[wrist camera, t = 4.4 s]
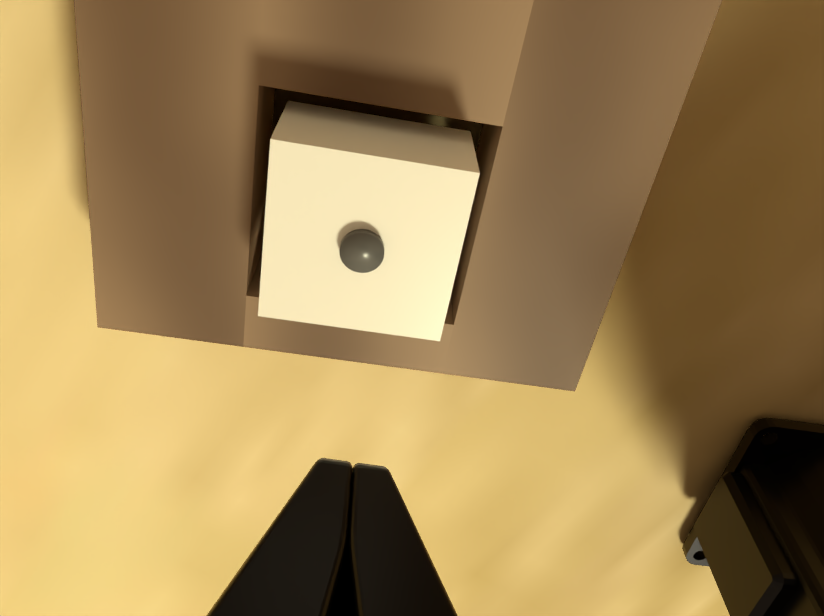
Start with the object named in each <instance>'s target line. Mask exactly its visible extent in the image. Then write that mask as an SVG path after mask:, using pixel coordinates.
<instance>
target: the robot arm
mask: <svg viewBox="0 0 824 616" xmlns="http://www.w3.org/2000/svg"><path fill="white" fill-rule="evenodd" d="M767 433H769V434H768V435H766V436H764V435H765V434H767ZM682 549H683V551H684V554H685V556H686V559H687V561H688V562H689V563H691V564H694V565H702V566H709V567H710V569H711V571H712V574H713V576H714V578H715V581H716V583H717V586H718V588H719V590H720V593H721V595H722V598H723V600H724V602H725V605H726V607H727V609H728V612H729V614H730V616H824V425H819V424H811V423H804V422H796V421H789V420H782V419H774V418H763V419H760V420H757V421H756V422H754V423H753V424H752V425H751V426H750V427H749V429H748V430H747V432H746V434H745V436H744V437H743V439H742V441H741V443H740V445H739V446H738V448H737V450H736V452H735V453H734V455H733V457H732V459H731V461H730V462H729V464H728V466H727V468H726V469H725V471H724V473H723V475H722V477H721V478H720V480H719V481H718V483H717V485H716V487H715V489H714V490H713V492H712V494H711V496H710V497H709V499H708V501H707V503H706V505H705V506H704V508H703V510H702V512H701V513H700V515H699V517H698V519H697V521H696V522H695V524H694V526H693V528H692V530H691V532H690V534H689V535H688V537H687V539H686V541H685V542H684V544H683V548H682ZM207 616H457V614H456V611H455V609H454V607H453V605H452V603H451V601H450V599H449V597H448V594H447V592H446V590H445V588H444V586H443V584H442V582H441V580H440V577H439V575H438V573H437V571H436V569H435V567H434V565H433V563H432V560H431V558H430V556H429V554H428V552H427V550H426V548H425V546H424V543H423V541H422V539H421V537H420V535H419V533H418V531H417V529H416V526H415V524H414V522H413V520H412V518H411V516H410V514H409V512H408V509H407V507H406V505H405V503H404V501H403V499H402V497H401V495H400V492H399V490H398V488H397V486H396V484H395V482H394V480H393V478H392V475H391V473H390V472H389V470H388V469H387V468H386V467H383V466H377V465H370V464H363V463H357V464H355V465H354V467H353V469H352V465H351V463H350V462H347V461H341V460H333V459H326V458H321V459H319V460H318V461H317V462H316V463H315V464H314V465H313V467H312V468H311V469H310V471H309V472H308V474H307V475H306V477H305V478H304V479H303V481H302V482H301V484H300V485H299V486H298V488H297V489H296V491H295V492H294V493H293V495H292V496H291V498H290V499H289V500H288V502H287V503H286V505H285V506H284V507H283V509H282V510H281V512H280V513H279V514H278V516H277V517H276V519H275V520H274V521H273V523H272V524H271V526H270V527H269V529H268V530H267V531H266V533H265V534H264V536H263V537H262V538H261V540H260V541H259V543H258V544H257V545H256V547H255V548H254V550H253V551H252V552H251V554H250V555H249V557H248V558H247V559H246V561H245V562H244V564H243V565H242V566H241V568H240V569H239V571H238V572H237V574H236V575H235V576H234V578H233V579H232V581H231V582H230V583H229V585H228V586H227V588H226V589H225V590H224V592H223V593H222V595H221V596H220V597H219V599H218V600H217V602H216V603H215V604H214V606H213V607H212V609H211V610H210V611H209V613H208V614H207Z"/></svg>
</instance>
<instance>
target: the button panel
mask: <svg viewBox="0 0 824 616" xmlns="http://www.w3.org/2000/svg"><path fill="white" fill-rule="evenodd" d="M721 2H722V0H74V7H75V21H76V34H77V48H78V62H79V76H80V90H81V104H82V117H83V131H84V145H85V159H86V173H87V187H88V200H89V214H90V228H91V242H92V256H93V270H94V283H95V297H96V311H97V325H98V327H100V328H108V329H115V330H123V331H130V332H137V333H145V334H152V335H160V336H167V337H175V338H182V339H190V340H197V341H204V342H212V343H219V344H227V345H234V346H242V347H249V348H256V349H264V350H271V351H279V352H286V353H294V354H301V355H309V356H316V357H323V358H331V359H338V360H346V361H353V362H361V363H368V364H376V365H383V366H390V367H398V368H405V369H413V370H420V371H428V372H435V373H442V374H450V375H457V376H465V377H472V378H480V379H487V380H495V381H502V382H509V383H517V384H524V385H532V386H539V387H547V388H554V389H562V390H569V391H575V390H576V387H577V384H578V382H579V379H580V376H581V374H582V371H583V368H584V366H585V363H586V360H587V358H588V355H589V352H590V350H591V347H592V344H593V342H594V339H595V337H596V334H597V331H598V329H599V326H600V323H601V321H602V318H603V315H604V313H605V310H606V307H607V305H608V302H609V299H610V297H611V294H612V291H613V289H614V286H615V283H616V281H617V278H618V275H619V273H620V270H621V268H622V265H623V262H624V260H625V257H626V254H627V252H628V249H629V246H630V244H631V241H632V238H633V236H634V233H635V230H636V228H637V225H638V222H639V220H640V217H641V214H642V212H643V209H644V207H645V204H646V201H647V199H648V196H649V193H650V191H651V188H652V185H653V183H654V180H655V177H656V175H657V172H658V169H659V167H660V164H661V161H662V159H663V156H664V153H665V151H666V148H667V145H668V143H669V140H670V138H671V135H672V132H673V130H674V127H675V124H676V122H677V119H678V116H679V114H680V111H681V108H682V106H683V103H684V100H685V98H686V95H687V92H688V90H689V87H690V84H691V82H692V79H693V76H694V74H695V71H696V69H697V66H698V63H699V61H700V58H701V55H702V53H703V50H704V47H705V45H706V42H707V39H708V37H709V34H710V31H711V29H712V26H713V23H714V21H715V18H716V15H717V13H718V10H719V7H720V5H721ZM275 88H278V89H284V90H290V91H296V92H302V93H307V94H313V95H319V96H325V97H331V98H337V99H343V100H349V101H355V102H360V103H366V104H372V105H378V106H384V107H390V108H396V109H402V110H408V111H414V112H419V113H425V114H431V115H437V116H443V117H449V118H455V119H461V120H467V121H473V122H478V123H484V124H483V128H482V132H481V137H480V141H479V145H478V150H477V154H476V158H477V162H478V167H479V171H480V175H479V179H478V183H477V187H476V192H475V196H474V200H473V204H472V208H471V213H470V217H469V221H468V225H467V230H466V234H465V238H464V242H463V246H462V251H461V255H460V259H459V263H458V267H457V272H456V276H455V280H454V284H453V289H452V293H451V297H450V301H449V305H448V310H447V314H446V318H445V322H444V326H443V331H442V335H441V339H440V341H434V340H427V339H419V338H412V337H405V336H398V335H391V334H383V333H376V332H369V331H362V330H355V329H347V328H340V327H333V326H326V325H319V324H311V323H304V322H297V321H290V320H283V319H275V318H268V317H261V316H258V307H259V293H260V278H261V264H262V250H263V236H264V222H265V207H266V193H267V179H268V165H269V151H270V139H271V136H272V126H273V111H274V97H275Z"/></svg>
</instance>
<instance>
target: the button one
mask: <svg viewBox="0 0 824 616" xmlns="http://www.w3.org/2000/svg"><path fill="white" fill-rule="evenodd" d="M479 175H480V171H479V167H478V162H477V158H476V153H475V149H474V144H473V140H472V135H471V131H466V130H460V129H454V128H448V127H442V126H436V125H430V124H424V123H418V122H412V121H406V120H400V119H394V118H388V117H382V116H376V115H370V114H364V113H359V112H353V111H347V110H341V109H335V108H329V107H323V106H317V105H311V104H305V103H299V102H293V101H288V102H287V104H286V106H285V108H284V111H283V113H282V115H281V117H280V119H279V121H278V124H277V126H276V128H275V130H274V132H273V134H272V136H271V139H270V151H269V165H268V179H267V193H266V207H265V222H264V236H263V250H262V264H261V278H260V293H259V307H258V316H261V317H268V318H275V319H283V320H290V321H297V322H304V323H311V324H319V325H326V326H333V327H340V328H347V329H355V330H362V331H369V332H376V333H383V334H391V335H398V336H405V337H412V338H419V339H427V340H434V341H440V339H441V335H442V331H443V326H444V322H445V318H446V314H447V310H448V305H449V301H450V297H451V293H452V289H453V284H454V280H455V276H456V272H457V267H458V263H459V259H460V255H461V251H462V246H463V242H464V238H465V234H466V230H467V225H468V221H469V217H470V213H471V208H472V204H473V200H474V196H475V192H476V187H477V183H478V179H479Z"/></svg>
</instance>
